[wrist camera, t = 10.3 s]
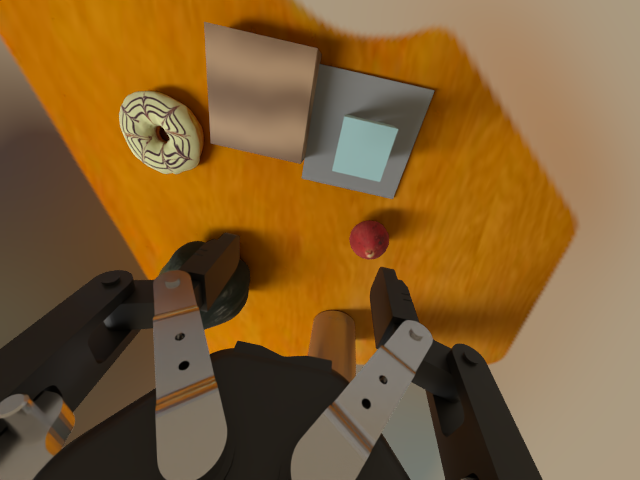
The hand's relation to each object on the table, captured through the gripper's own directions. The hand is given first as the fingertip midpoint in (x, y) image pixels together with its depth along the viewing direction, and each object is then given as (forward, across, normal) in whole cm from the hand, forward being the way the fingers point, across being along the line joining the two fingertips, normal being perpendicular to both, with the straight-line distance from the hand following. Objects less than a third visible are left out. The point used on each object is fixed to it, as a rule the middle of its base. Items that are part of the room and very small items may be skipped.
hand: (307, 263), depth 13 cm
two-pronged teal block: (+24, -3, -4) cm, 24 cm away
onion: (+25, -8, +9) cm, 27 cm away
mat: (+24, -3, -4) cm, 25 cm away
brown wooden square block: (+24, +10, -6) cm, 27 cm away
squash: (+25, +17, +24) cm, 39 cm away
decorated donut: (+25, +24, +1) cm, 35 cm away
